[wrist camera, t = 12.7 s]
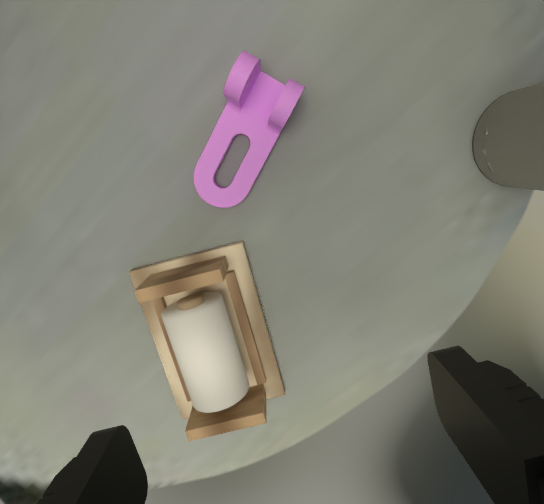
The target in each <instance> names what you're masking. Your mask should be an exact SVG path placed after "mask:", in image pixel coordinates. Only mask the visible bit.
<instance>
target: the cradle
mask: <svg viewBox="0 0 544 504" xmlns="http://www.w3.org/2000/svg"><path fill="white" fill-rule="evenodd" d="M129 273H130V276H131V279H132V282H133V284H134V287H135V290H134V292H135V295H136V297H137V300H138V303H140V304H141V306H142V309H143V312H144V315H145V317H146V320H147V323H148V326H149V328H150V331H151V334H152V337H153V339H154V342H155V345H156V348H157V350H158V353H159V356H160V359H161V361H162V364H163V367H164V370H165V372H166V375H167V378H168V381H169V383H170V386H171V389H172V392H173V394H174V397H175V400H176V403H177V405H178V408H179V411H180V414H181V416H182V419H186V418H189V420H188V424H187V427H186V430H185V432H186V435H187V437H188V440H189V441H192V440H196V439H200V438H205V437H209V436H213V435H217V434H222V433H226V432H230V431H234V430H239V429H243V428H247V427H251V426H256V425H260V424H264V423H266V399H270V398H274V397H278V396H282V395H285V389H284V385H283V382H282V378H281V375H280V371H279V367H278V364H277V360H276V357H275V353H274V350H273V346H272V343H271V339H270V336H269V332H268V328H267V325H266V321H265V318H264V314H263V311H262V307H261V304H260V300H259V297H258V293H257V289H256V286H255V282H254V279H253V275H252V272H251V268H250V265H249V261H248V258H247V254H246V250H245V247H244V243H243V241H241V242H237V243H233V244H229V245H225V246H221V247H217V248H213V249H210V250H206V251H202V252H198V253H194V254H190V255H186V256H182V257H178V258H174V259H171V260H167V261H163V262H159V263H155V264H151V265H147V266H143V267H139V268H135V269H132V270H131V271H130V272H129ZM210 291H215V292H220V293H221V294H222V297H223V300H224V304H225V307H226V310H227V313H228V316H229V320H230V323H231V326H232V329H233V333H234V336H235V339H236V342H237V346H238V349H239V352H240V355H241V358H242V362H243V365H244V368H245V371H246V375H247V378H248V381H249V389H248V392H247V393H246V395H245V396H244V397H243V398H242V399H241V400H240V401H239V402H237V403H236V404H234V405H233V406H231V407H229V408H227V409H224V410H221V411H218V412H212V413H204V412H200V411H197V410H196V409H195V408H194V406H193V404H192V401H191V398H190V395H189V393H188V390H187V387H186V384H185V381H184V379H183V376H182V373H181V370H180V367H179V365H178V362H177V359H176V356H175V353H174V351H173V348H172V345H171V342H170V339H169V336H168V334H167V331H166V328H165V325H164V322H163V320H162V317H161V313H162V311H163V310H164V309H165V308H166V307H168V306H169V305H171V304H172V303H174V302H176V301H178V300H180V299H181V298H183V297H185V296H188V295H191V294H195V293H202V292H210Z"/></svg>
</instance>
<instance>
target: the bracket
mask: <svg viewBox="0 0 544 504" xmlns="http://www.w3.org/2000/svg"><path fill="white" fill-rule="evenodd" d="M304 88H305V87H304V86H303V85H301V84H299V83H298V82H296V81H294V80H293V79H291V78H290V79H289V80H288V82H287V84H286V86H285V85H283V84H282V83H280V82H278V81H277V80H275V79H273V78H272V77H270V76H268V75H267V74H265V73H263V72H262V71H261V67H260V59H258V58H256V57H255V56H253V55H251V54H250V53H248V52H246V51H245V50H244V51H243V52H242V53H241V54H240V55H239V57H238V58H237V60H236V62H235V64H234V66H233V68H232V70H231V72H230V74H229V77H228V79H227V82H226V85H225V88H224V95H225V97H226V98H227V100H228V101H227V104H226V106H225V108H224V110H223V112H222V114H221V116H220V118H219V120H218V122H217V124H216V126H215V128H214V130H213V132H212V134H211V137H210V139H209V141H208V143H207V145H206V147H205V149H204V151H203V153H202V155H201V157H200V159H199V161H198V163H197V165H196V167H195V170H194V184H195V188H196V190H197V192H198V194H199V195H200V196H201V198H202V199H203V200H204V201H206V202H207V203H209V204H211V205H213V206H216V207H222V208H226V207H231V206H234V205H236V204H238V203H240V202H241V201H242V200H243V199H244V198H245V197H246V196H247V194H248V192H249V190H250V189H251V187H252V185H253V183H254V181H255V179H256V177H257V175H258V174H259V172H260V170H261V168H262V166H263V164H264V162H265V160H266V159H267V157H268V155H269V153H270V151H271V149H272V147H273V145H274V144H275V142H276V140H277V138H278V136H279V134H280V132H281V131H282V129H283V127H284V125H285V123H286V122H287V120H288V118H289V116H290V114H291V112H292V110H293V109H294V107H295V105H296V103H297V101H298V99H299V97H300V95H301V94H302V92H303V90H304ZM239 134H243V135H246V136H247V137H248V138H249V139H250V143H251V145H250V148H249V150H248V152H247V154H246V156H245V158H244V160H243V162H242V164H241V166H240V168H239V170H238V172H237V173H236V175H235V177H234V179H233V181H232V183H231V185H230V186H229V187H225V188H224V187H220V186H218V185H217V183H216V182H215V174H216V172H217V170H218V168H219V166H220V164H221V162H222V160H223V158H224V156H225V154H226V152H227V150H228V148H229V146H230V144H231V143H232V141H233V139H234V137H235V136H237V135H239Z"/></svg>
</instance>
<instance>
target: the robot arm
mask: <svg viewBox="0 0 544 504" xmlns="http://www.w3.org/2000/svg"><path fill="white" fill-rule="evenodd" d="M473 152H474V156H475V161H476V163H477V165H478V167H479V169H480V170H481V171H482V173H483V174H484V175H485V176H486V177H487V178H489V179H490V180H491V181H493V182H495V183H497V184H500V185H503V186H509V187H518V188H527V189H534V190H543V191H544V83H541V84H537V85H534V86H530V87H527V88H523V89H520V90H516V91H512V92H510V93H507V94H505V95H503V96H501V97H500V98H498V99H497V100H496V101H495V102H493V103H492V104H491V105H490V106H489V107H488V108H487V110H486V111H485V112H484V113H483V115H482V117H481V118H480V120H479V122H478V124H477V127H476V130H475V134H474V139H473ZM428 365H429V371H430V376H431V382H432V387H433V393H434V399H435V404H436V409H437V412H438V415H439V418H440V420H441V423H442V425H443V427H444V429H445V430H446V432H447V434H448V435H449V437H450V438H451V440H452V441H453V443H454V444H455V446H456V447H457V449H458V450H459V452H460V453H461V455H462V456H463V457H464V459H465V461H466V462H467V464H468V465H469V466H470V468H471V470H472V471H473V472H474V474H475V475H476V477H477V478H478V480H479V481H480V483H481V484H482V486H483V487H484V489H485V490H486V492H487V493H488V495H489V496H490V498H491V499H492V501H493V502H494V504H544V399H541V397H540V395H538V393H536V392H535V391H534V390H533V389H532V388H531V387H527V385H526V383H525V382H524V381H522V380H521V379H520V378H519V377H518V376H516V375H515V374H514V373H513V372H512V371H511V370H509V369H507V368H504V367H502V366H500V365H498V364H495V363H493V362H491V361H488V360H487V361H483V362H479V363H477V362H476V361H475V360H474V359H473V358H472V357H471V356H470V355H469V354H468V353H467V352H466V351H465V350H464V349H463V348H461V347H460V346H455V347H450V348H446V349H442V350H437V351H434V352H430V353H428ZM147 489H148V483H147V476H146V472H145V469H144V467H143V464H142V462H141V459H140V457H139V454H138V452H137V449H136V447H135V444H134V442H133V440H132V437H131V435H130V432H129V430H128V429H127V428H126V427H125V426H123V425H121V426H117V427H112V428H108V429H104V430H100V431H96V432H93V433H92V434H91V435H90V436H89V438H88V440H87V441H86V443H85V444H84V446H83V448H82V449H81V451H80V452H79V454H78V455H77V457H74V458H73V459H72V460H71V461H70V462H69V463H68V464H67V465H66V466H65V467H64V468H63V469H62V470H61V471H60V472H59V473H58V474H57V475H56V476H55V477H54V479H53V480H52V482H51V484H50V485H49V487H48V488H47V490H46V491H45V493H44V494H43V499H40V500H39V502H38V503H37V504H145V500H146V497H147Z"/></svg>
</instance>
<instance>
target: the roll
mask: <svg viewBox="0 0 544 504" xmlns="http://www.w3.org/2000/svg"><path fill="white" fill-rule="evenodd" d="M161 317H162V320H163V322H164V325H165V328H166V331H167V334H168V336H169V339H170V342H171V345H172V348H173V351H174V353H175V356H176V359H177V362H178V365H179V367H180V370H181V373H182V376H183V379H184V381H185V384H186V387H187V390H188V393H189V395H190V398H191V401H192V404H193V406H194V408H195V409H196V410H197V411H200V412H204V413H212V412H218V411H221V410H224V409H227V408H229V407H231V406H233V405H234V404H236V403H237V402H239V401H240V400H241V399H242V398H243V397H244V396H245V395H246V393H247V392H248V389H249V381H248V378H247V375H246V371H245V368H244V365H243V362H242V358H241V355H240V352H239V349H238V346H237V342H236V339H235V336H234V333H233V329H232V326H231V323H230V320H229V316H228V313H227V310H226V307H225V304H224V300H223V297H222V294H221V293H220V292H215V291H210V292H202V293H195V294H191V295H188V296H185V297H183V298H181V299H180V300H178V301H176V302H174V303H172V304H171V305H169V306H168V307H166V308H165V309H164V310H163V311H162V313H161Z"/></svg>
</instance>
